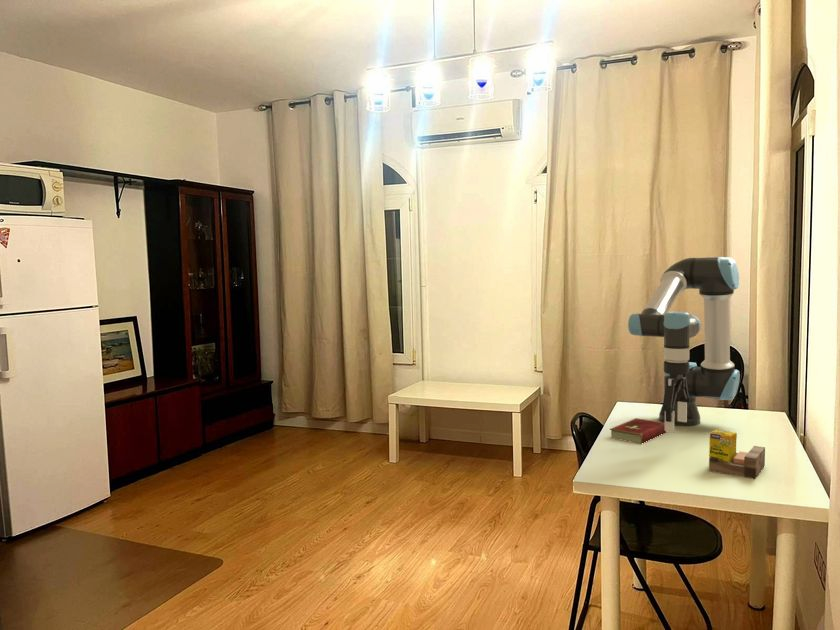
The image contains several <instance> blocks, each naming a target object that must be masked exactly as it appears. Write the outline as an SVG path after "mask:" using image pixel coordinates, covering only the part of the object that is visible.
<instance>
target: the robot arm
mask: <svg viewBox="0 0 840 630" xmlns="http://www.w3.org/2000/svg"><path fill="white" fill-rule="evenodd" d="M739 285H740V274H739V267H738V265H737V262H736V261H735V259H733V258H732V257H727V256H726V257H725V256H714V257H713V256H712V257H711V256H710V257H709V256H707V257H688V258H683V259H682V260H679V261H677V262H675V263H674V264H671V266H669V267H668V268H667V269H665V271H664V272H663V274H661V276H660V279H659V285H658V287H657V288H656V289H655V291H654V293H653V294H652V295H651V298H650V299H649V300H648V302H647V304H645V306H644V308H643V310H642V311H641V312H639V313H638V312H637V313H633V314H631V315H629V318H628V323H627V328H628V331H629V334H630V335H633V336H638V337H652V338H653V337H657V338H663V349H662V353H663V359H664V361H663V372H664V374H663V377H664V378H663V379H664V380H663V382H664V383H663V384H664V385H663V387H664V388H663V400H662V401H663V402H662V405H661V408H660V411H659V414H658V420H659V422H662V423H665V431H667V432H668V433H669V432H670V433H674V432H675V426H695V425H699V424H701V415H700V411H699V409H698V408H699V407H698V406H697V398H705V399H712V400H713V399H714V400H720V401H722V400H723V401H731V400H733V399H734V398H735V397H736V395H737V393H738V389H739V385H740V378H741V374H740V373H741V372H740V370H738V369H735V363H734V362H733V361H731V352H730V351H731V348H730V347H731V343H730V342H731V340H730V339H731V336H730V331H731V330H730V326H731V325H730V323H731V322H730V298H731V297H732V296H733V295H734V294H735V292H734V291H735V290H738V288H739V287H740V286H739ZM688 289H689V290H690V289H691V290H692V289H695V290H698V291H699V293H698V295H699V296H701V298H702V299H703V319H704V321H703V322H704V324H703V325H704V327H703V329H704V360H703V361H702V362H701V363H700V366H698V365H697V362H692V361H690V339H691V338H694V337H695V336H696V335H698V334H699V333H700V331H701V329H702V323H701V321H700V319H699V318H698V317H697V316H696V315H693V314H690V313H688V312H687V311H670V310H671V308H672V306H673V305H674V303H675V301H676V300H677V298H678V296H679V294H681V293H683V292H684V291H685V290H688Z"/></svg>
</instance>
